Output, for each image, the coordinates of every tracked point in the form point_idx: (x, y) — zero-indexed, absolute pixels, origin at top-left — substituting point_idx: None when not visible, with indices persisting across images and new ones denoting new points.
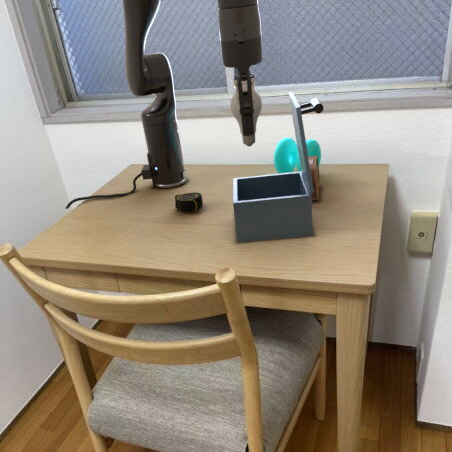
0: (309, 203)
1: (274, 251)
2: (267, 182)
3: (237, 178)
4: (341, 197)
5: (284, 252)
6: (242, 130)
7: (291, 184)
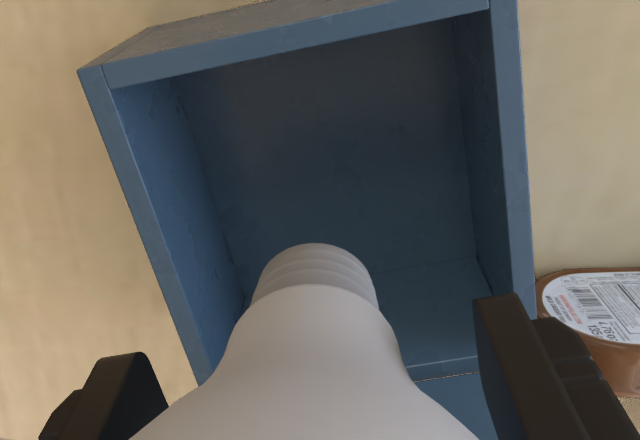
0: None
1: (98, 190)
2: (494, 181)
3: (505, 8)
4: None
5: (97, 225)
6: (232, 339)
7: (499, 281)
